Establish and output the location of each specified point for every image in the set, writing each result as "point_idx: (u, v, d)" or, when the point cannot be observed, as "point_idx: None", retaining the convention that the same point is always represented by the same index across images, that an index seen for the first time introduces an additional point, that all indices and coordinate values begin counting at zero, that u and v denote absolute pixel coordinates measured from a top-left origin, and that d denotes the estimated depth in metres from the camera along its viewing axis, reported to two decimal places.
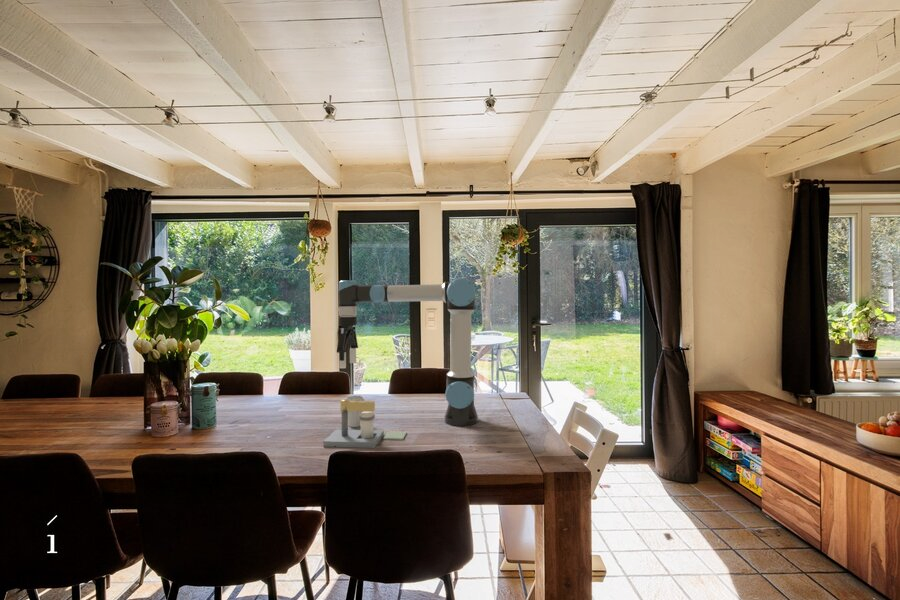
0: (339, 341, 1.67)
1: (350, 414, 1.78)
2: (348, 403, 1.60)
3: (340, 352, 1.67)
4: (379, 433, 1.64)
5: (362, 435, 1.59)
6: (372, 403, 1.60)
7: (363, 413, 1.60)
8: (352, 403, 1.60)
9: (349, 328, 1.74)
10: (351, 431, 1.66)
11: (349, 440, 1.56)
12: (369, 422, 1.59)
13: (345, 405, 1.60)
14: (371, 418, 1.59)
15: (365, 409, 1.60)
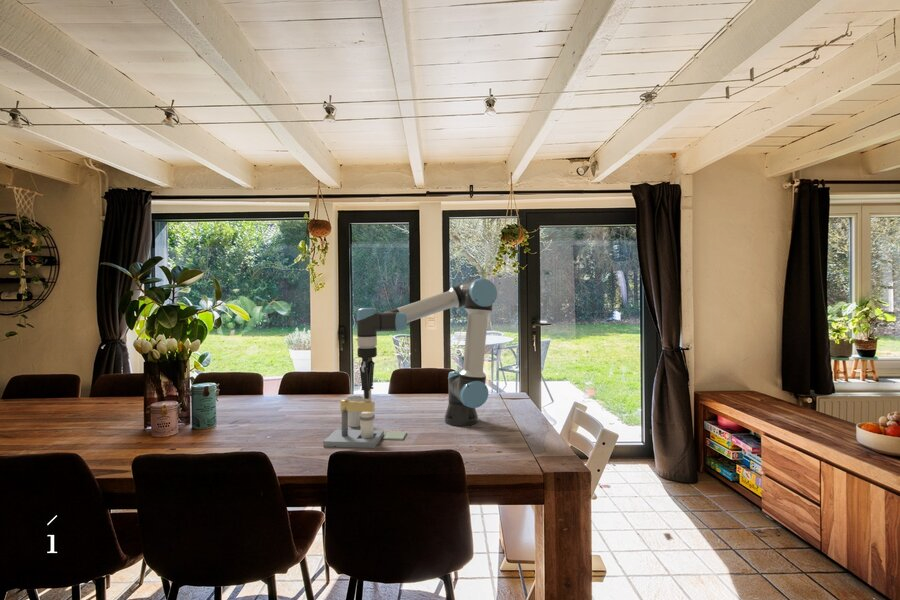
0: (362, 380, 1.57)
1: (350, 414, 1.78)
2: (348, 403, 1.60)
3: (365, 390, 1.60)
4: (379, 433, 1.64)
5: (362, 435, 1.59)
6: (371, 404, 1.59)
7: (363, 413, 1.60)
8: (352, 403, 1.60)
9: (369, 360, 1.60)
10: (351, 431, 1.66)
11: (349, 440, 1.56)
12: (369, 422, 1.59)
13: (345, 405, 1.60)
14: (371, 418, 1.59)
15: (364, 409, 1.59)
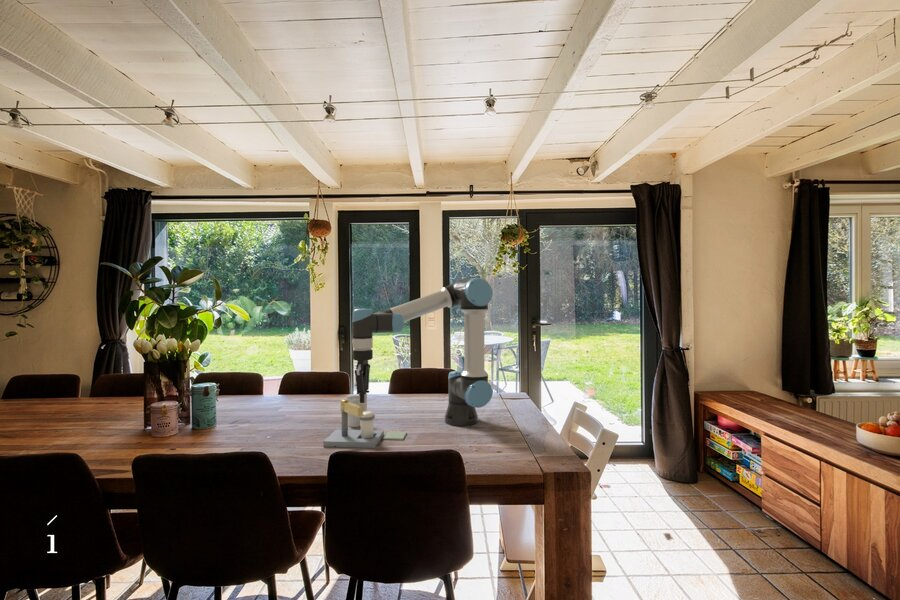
0: (357, 384, 1.51)
1: (350, 414, 1.78)
2: (344, 404, 1.59)
3: (360, 394, 1.54)
4: (379, 433, 1.64)
5: (362, 435, 1.59)
6: (357, 408, 1.52)
7: (363, 413, 1.60)
8: (346, 404, 1.58)
9: (364, 363, 1.55)
10: (351, 431, 1.66)
11: (349, 440, 1.56)
12: (369, 422, 1.59)
13: (342, 405, 1.60)
14: (371, 418, 1.59)
15: (353, 413, 1.54)
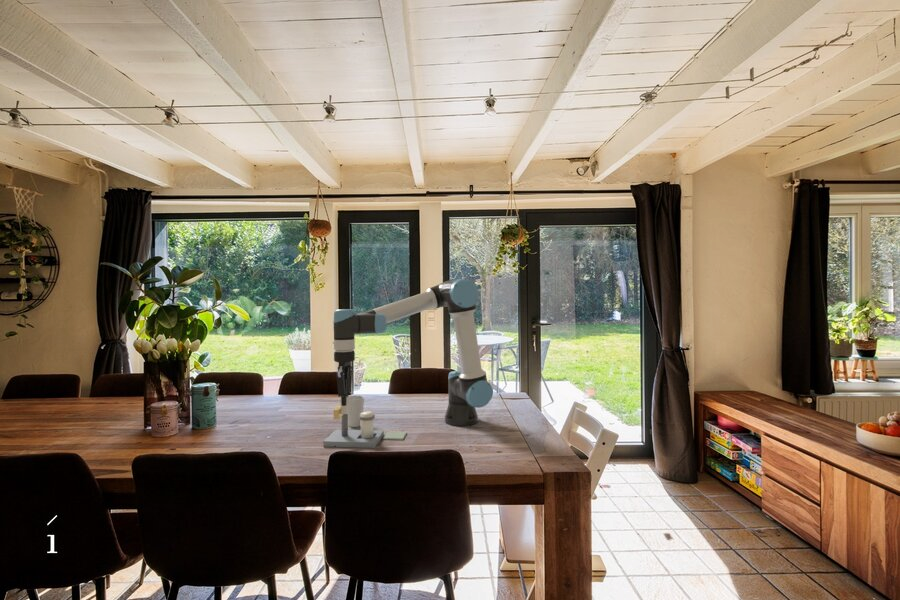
0: (338, 386, 1.48)
1: (350, 414, 1.78)
2: None
3: (342, 396, 1.50)
4: (379, 433, 1.64)
5: (362, 435, 1.59)
6: (334, 410, 1.50)
7: (363, 413, 1.60)
8: None
9: (346, 364, 1.51)
10: (351, 431, 1.66)
11: (349, 440, 1.56)
12: (369, 422, 1.59)
13: None
14: (371, 418, 1.59)
15: None
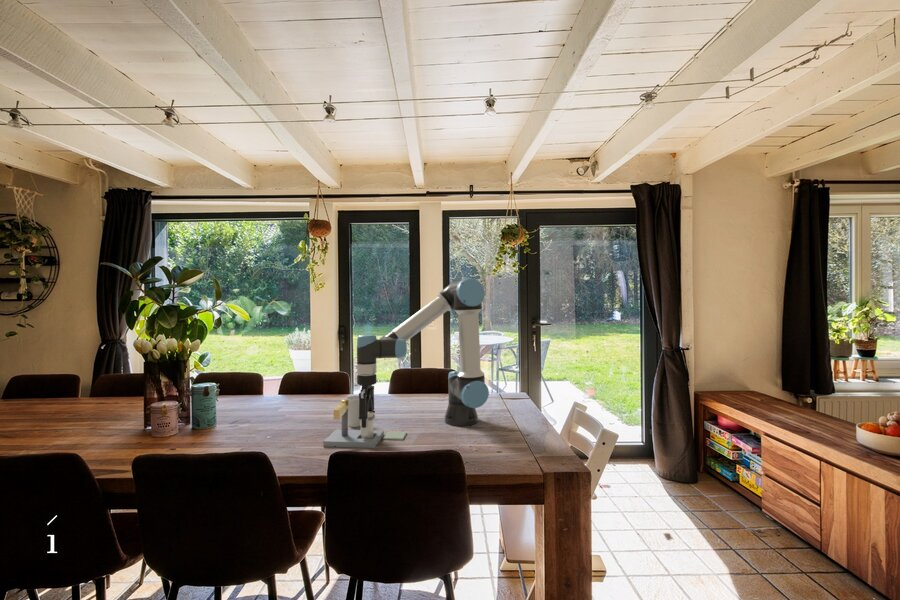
0: (360, 408, 1.54)
1: (350, 414, 1.78)
2: None
3: (362, 419, 1.56)
4: (379, 433, 1.64)
5: None
6: (334, 410, 1.50)
7: None
8: None
9: (368, 387, 1.60)
10: (351, 431, 1.66)
11: (349, 440, 1.56)
12: (369, 422, 1.59)
13: None
14: (371, 418, 1.59)
15: None
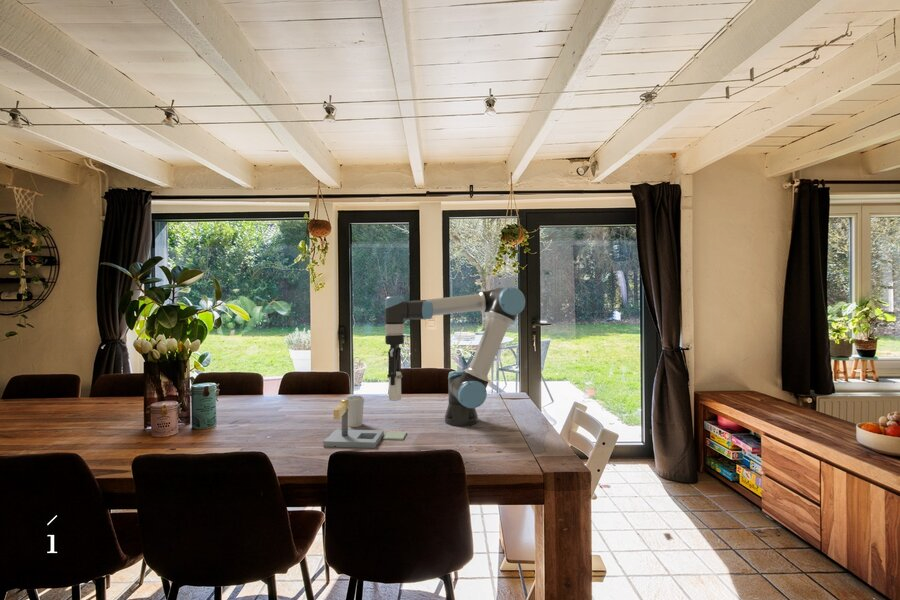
0: (389, 365, 1.60)
1: (350, 414, 1.78)
2: None
3: (391, 376, 1.61)
4: (379, 433, 1.64)
5: (390, 393, 1.64)
6: (334, 410, 1.50)
7: None
8: None
9: (396, 347, 1.65)
10: (351, 431, 1.66)
11: (349, 440, 1.56)
12: (398, 380, 1.64)
13: None
14: (399, 376, 1.64)
15: None
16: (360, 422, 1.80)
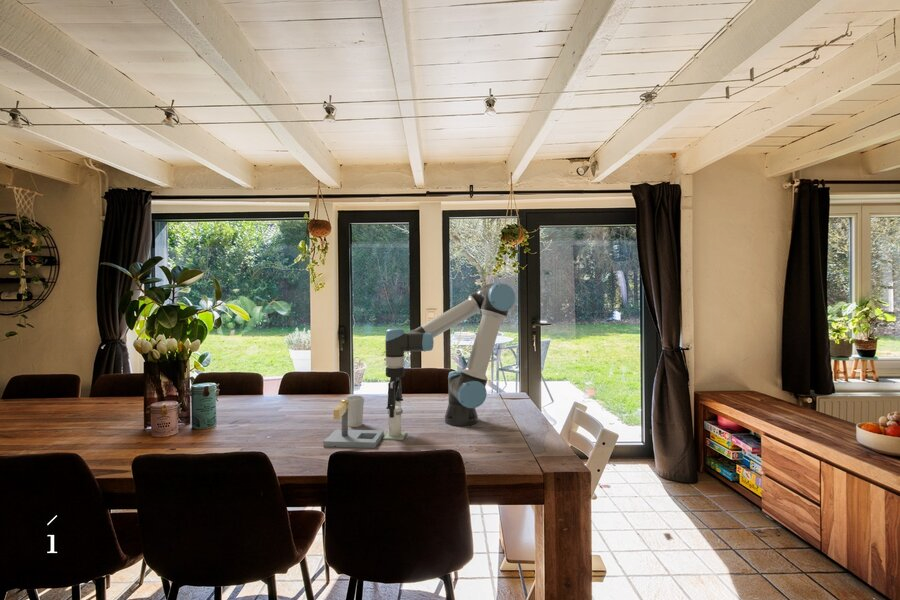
0: (389, 397, 1.58)
1: (350, 414, 1.78)
2: None
3: (390, 409, 1.59)
4: (379, 433, 1.64)
5: (391, 429, 1.64)
6: (334, 410, 1.50)
7: None
8: None
9: (397, 379, 1.65)
10: (351, 431, 1.66)
11: (349, 440, 1.56)
12: (398, 416, 1.64)
13: None
14: (399, 413, 1.64)
15: None
16: (360, 422, 1.80)
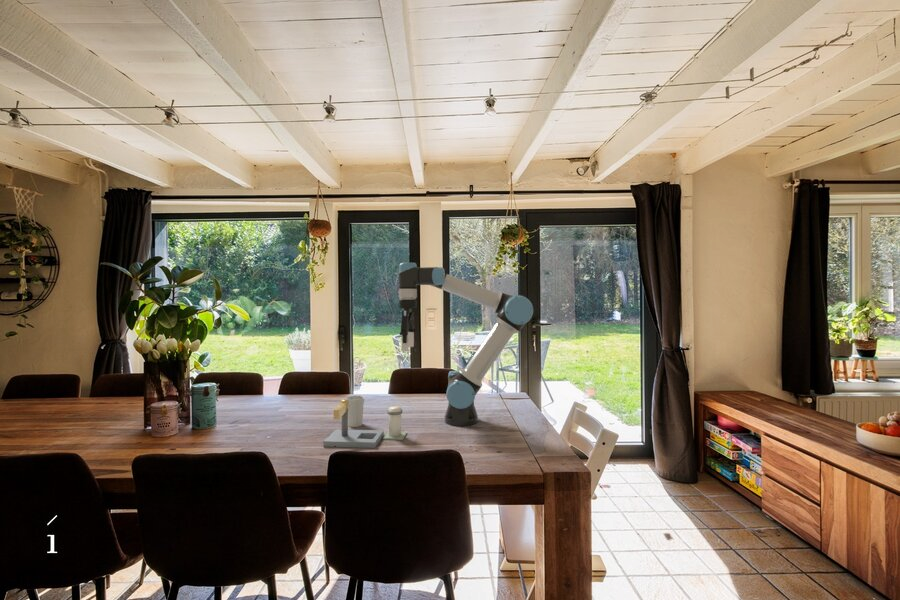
0: (402, 323, 1.65)
1: (350, 414, 1.78)
2: None
3: (403, 334, 1.65)
4: (379, 433, 1.64)
5: (391, 429, 1.64)
6: (334, 410, 1.50)
7: (391, 408, 1.66)
8: None
9: (410, 311, 1.72)
10: (351, 431, 1.66)
11: (349, 440, 1.56)
12: (398, 416, 1.64)
13: None
14: (399, 413, 1.64)
15: None
16: (360, 422, 1.80)
